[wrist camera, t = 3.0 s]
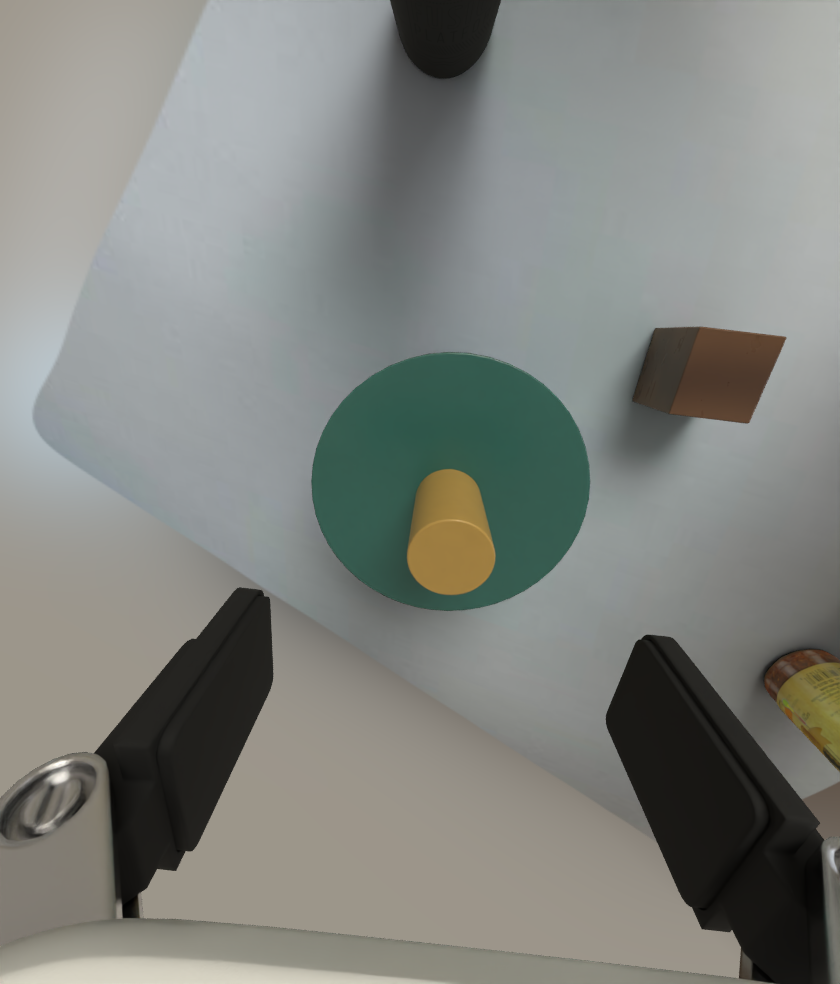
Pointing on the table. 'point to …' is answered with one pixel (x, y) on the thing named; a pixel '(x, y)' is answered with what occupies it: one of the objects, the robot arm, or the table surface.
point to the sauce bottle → (810, 696)
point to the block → (707, 372)
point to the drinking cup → (444, 32)
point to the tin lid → (450, 481)
